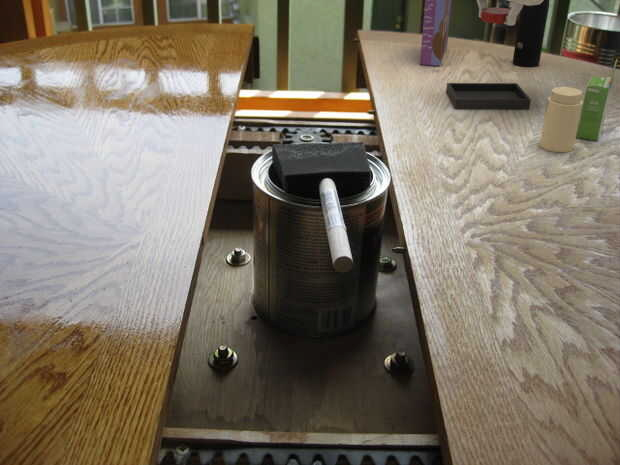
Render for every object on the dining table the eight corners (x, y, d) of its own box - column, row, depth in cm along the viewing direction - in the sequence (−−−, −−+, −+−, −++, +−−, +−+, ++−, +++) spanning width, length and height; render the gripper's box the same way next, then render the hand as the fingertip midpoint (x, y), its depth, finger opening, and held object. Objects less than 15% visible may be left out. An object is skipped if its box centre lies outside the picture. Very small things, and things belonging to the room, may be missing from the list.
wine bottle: (540, 61, 166) (563, -69, 151) (537, 68, 161) (560, -67, 146) (514, 59, 168) (534, -70, 153) (510, 65, 163) (530, -68, 148)
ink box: (580, 125, 126) (595, 55, 119) (602, 129, 124) (618, 58, 118) (574, 137, 121) (590, 65, 114) (597, 141, 119) (614, 68, 112)
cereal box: (439, 66, 162) (449, -38, 150) (419, 65, 163) (428, -39, 151) (446, 49, 177) (456, -48, 165) (428, 48, 178) (437, -48, 166)
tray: (515, 92, 144) (517, 83, 143) (529, 109, 134) (531, 99, 133) (445, 92, 144) (446, 82, 143) (454, 109, 135) (455, 99, 134)
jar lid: (484, 23, 129) (485, 14, 128) (478, 16, 134) (479, 7, 133) (515, 23, 129) (516, 14, 128) (508, 16, 134) (509, 7, 133)
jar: (567, 140, 120) (578, 85, 115) (578, 152, 115) (590, 96, 110) (535, 140, 120) (544, 85, 115) (545, 152, 115) (555, 96, 110)
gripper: (457, -59, 131) (450, 13, 138) (533, -47, 116) (521, 33, 123) (482, -60, 134) (473, 10, 141) (559, -49, 118) (545, 29, 125)
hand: (496, 21), depth 132 cm, fingers closed on jar lid, 6 cm apart
